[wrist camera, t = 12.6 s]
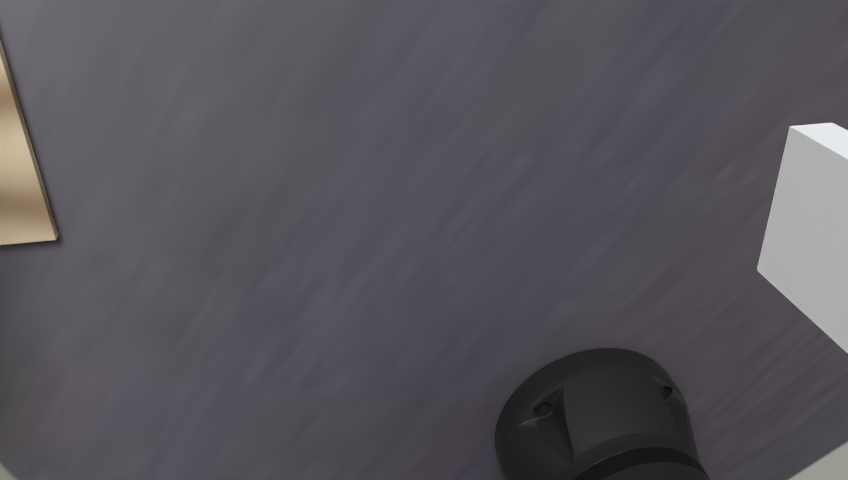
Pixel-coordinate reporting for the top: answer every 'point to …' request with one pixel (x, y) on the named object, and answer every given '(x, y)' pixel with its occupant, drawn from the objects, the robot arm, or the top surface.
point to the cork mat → (19, 174)
